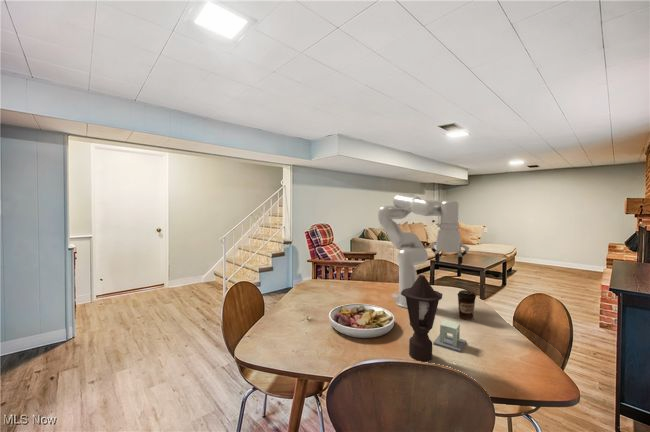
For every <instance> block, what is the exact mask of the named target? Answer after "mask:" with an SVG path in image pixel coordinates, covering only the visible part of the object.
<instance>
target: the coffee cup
mask: <svg viewBox="0 0 650 432" xmlns="http://www.w3.org/2000/svg"><path fill="white" fill-rule="evenodd" d="M456 295H457V298H458V299H457V301H458V302H457V303H458V315H459V318H460V319H462V320H467V321H470V320H471V321H472V320H474V311H475V305H476V304H475V303H476V298H477V295H476V292H475V291H473V290H467V289H464V290H463V289H462V290H459V292H458V293H457V294H456Z"/></svg>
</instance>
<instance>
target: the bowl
mask: <svg viewBox="0 0 650 432" xmlns="http://www.w3.org/2000/svg"><path fill="white" fill-rule="evenodd" d="M328 319H329V321H328V322H329V323H330V325H331V326H332V327H333V329H334V330H335V331H338V332H339V333H341V334H343V335H346V336H348V337H352V338H360V339H368V338H369V339H371V338H372V339H373V338H377V337H381V336H384V335H386V334H387V333H389V332H390V331H391V330H392V329H393V327H394V325H395V316H394V314H393V313H392V312H391V311H389V310H388V309H386V308H384V307H380V306H378V305H373V304H368V303H347V304H342V305H339V306H336V307H334V308H332V309H331V310H330V311H329V313H328Z"/></svg>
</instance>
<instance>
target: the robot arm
mask: <svg viewBox="0 0 650 432" xmlns="http://www.w3.org/2000/svg"><path fill="white" fill-rule="evenodd" d="M392 203H393V205H384V206H381V207H380V208H379V209H378V212H377V218H378V221H379V224H380V226H381V227H382V229H383V230H384V231H385V233H386V234H387V236H388V239H389V240H390V242H391V244H392V246H393V248H395V249H396V250H399V251H398V252H397V256H396V257H397V263H398V293H397V294H396V293H392V296H391V297H392V299H395V304H396V305H397V306H398V307H401V308H405V309H408V308H407V302H406V297H405V296H403V295H401V292H402V290H404V289H407V288H411V287H412V286H413V284H414V283H415V281H416V280H417V278H418V273H417V269H416V268H415V266H417V265H422V264H426V262H428V259H429V256H428V255H429V254H428V251H427V250H426V248H425V246H424V245H423V243H422V241H421V239H420V238H419V236H418V235H417V234H416V233H414V232H411V231H409V232H406V231H405V232H404V231H403V230H402V228H401V227H400V226H399V224H398V223H397V222H396V221H395V220H402V219H404V218H406V217H408V216H409V215H410V214H411V213H412V214H416V215H419V216H423V217H440V223H438V224H437V225H436V226H437V227H436V228H439V229H438V230H437V236H436V241H435V242H432V243H430V244H429V247H430V249H431V251H432V252H433V254H434V260H435V263H436V264H438V263H439V262H440V255H441V254H440V252H445V253H454V254H455V253H456V254H457V255H458V257H457V266H459V267H460V266H461V265H462V264H463V256H465V255H466V254H467V253H468V252H469V251H470V247H469V246H467V245H465V244H464V243H462V238H461V231H460V230H459V206H460V205H459V202H458V201H457V200H427V199H426V200H425V199H424V200H423V199H421V197H420V196H417V195H415V194H412V193H411V194H410V193H406V194H405V193H400V194H396V195H395V196H394V197H393V200H392ZM462 248H463V249H464V250H463V251H462Z"/></svg>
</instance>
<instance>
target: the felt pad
mask: <svg viewBox="0 0 650 432" xmlns="http://www.w3.org/2000/svg"><path fill="white" fill-rule="evenodd" d="M466 343H467V340H466V339H462V338H460V341H459V342H458V341H457V346H453V335H448V334H447V338H444V342H443V343H442V342H440V334H438V336H437V338H435V339H434V341H432V345H434V346H438V347H440V348H445V349H448V350H451V351H454V352H458V353H462V351H463V348H464V347H465V345H466Z"/></svg>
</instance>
